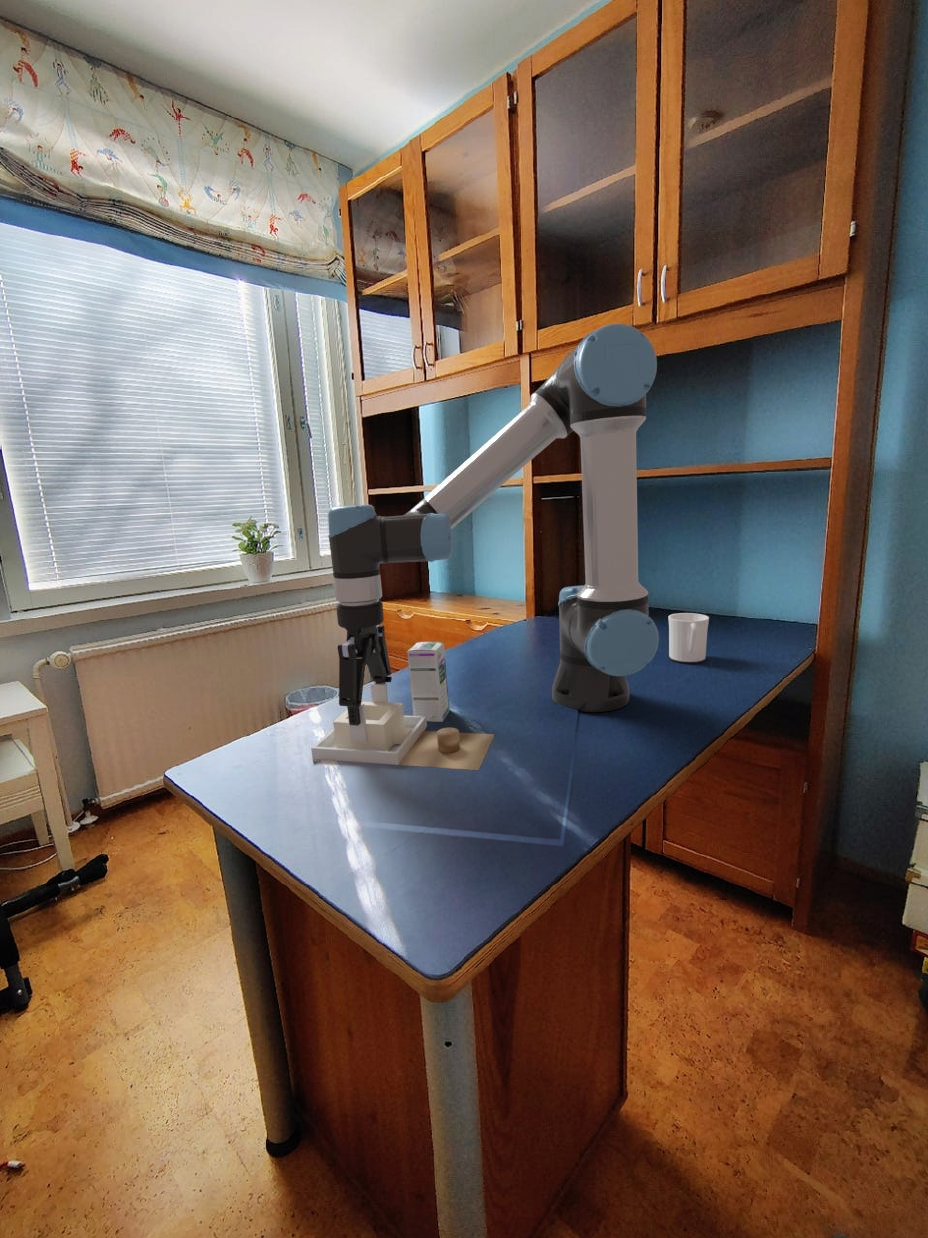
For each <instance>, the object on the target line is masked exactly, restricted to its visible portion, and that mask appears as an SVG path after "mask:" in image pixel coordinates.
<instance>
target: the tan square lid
mask: <svg viewBox="0 0 928 1238" xmlns="http://www.w3.org/2000/svg"><path fill="white" fill-rule="evenodd" d="M495 737H496V735H495V734H492V733H474V732H472V733H471V732H460V731H459V729H458V728H456V727H443V728H440V729H438V730H437V731H435V730H424V731H423V732H422V734H421V735H420V736H419V738H418V739H417V740H416V742H415V743H414V744H413V746H412V747H411V748H410V750H409V751H408V752H407V754H406V755H405V756H404V758H403V759H402V760H401V762H400V763H399V765H398V766H406V767H407V766H409V767H423V768H436V769H437V768H438V769H439V768H440V769H450V770H451V769H452V770H453V769H454V770H467V771H480V768H481V766H482V765H483V762H484V760H485V758H486V756H487V753H488V751H489V749H490V746H491V744H492V742H493V740H494V738H495Z"/></svg>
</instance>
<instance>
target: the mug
mask: <svg viewBox="0 0 928 1238" xmlns="http://www.w3.org/2000/svg"><path fill="white" fill-rule="evenodd" d="M667 617H668V629H669V630H668V638H669V639H668V642H669V643H668V644H669V645H668V649H669V651H668V658H669V660H670V661H671V662H674V663H678V664H683V665H697V664H702V663H704V662H705V660H706V657H707V656H706V655H707V640H708V639H707V638H708V628H709V621H710V616H708V615H706V614H701V613H693V612H682V613H681V612H679V613H672V614H669V615H668V616H667Z"/></svg>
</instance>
